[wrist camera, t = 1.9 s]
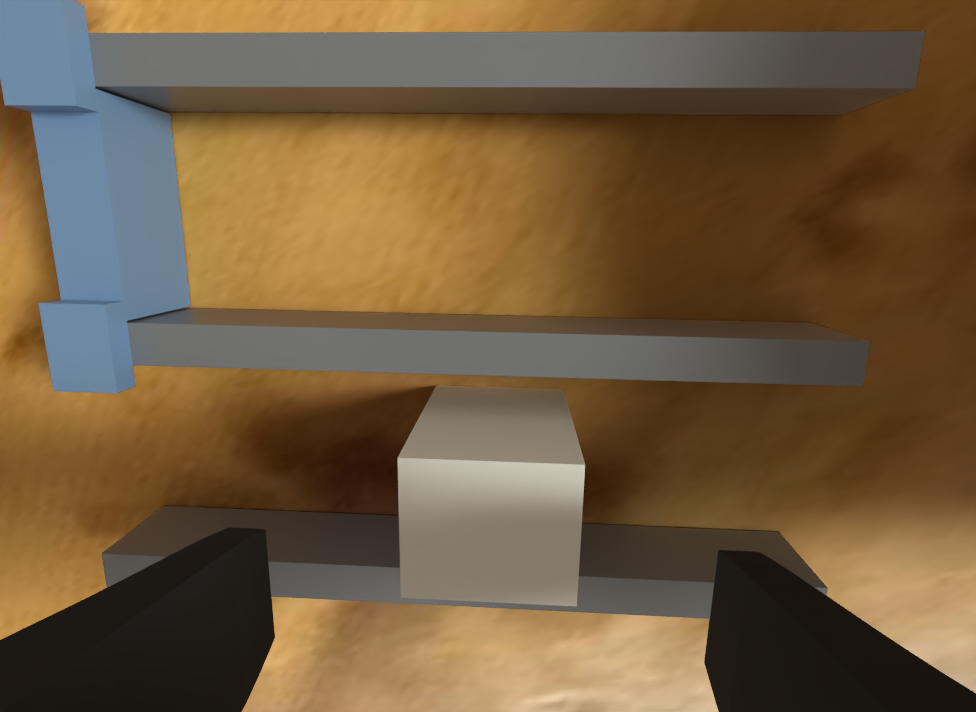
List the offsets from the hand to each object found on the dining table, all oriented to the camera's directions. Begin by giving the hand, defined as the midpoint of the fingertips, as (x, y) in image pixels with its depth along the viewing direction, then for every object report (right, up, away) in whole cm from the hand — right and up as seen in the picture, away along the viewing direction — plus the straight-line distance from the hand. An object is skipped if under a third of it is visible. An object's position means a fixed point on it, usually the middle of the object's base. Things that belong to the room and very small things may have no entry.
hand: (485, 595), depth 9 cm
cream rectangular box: (0, +1, +7) cm, 7 cm away
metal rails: (-1, +4, +6) cm, 7 cm away
